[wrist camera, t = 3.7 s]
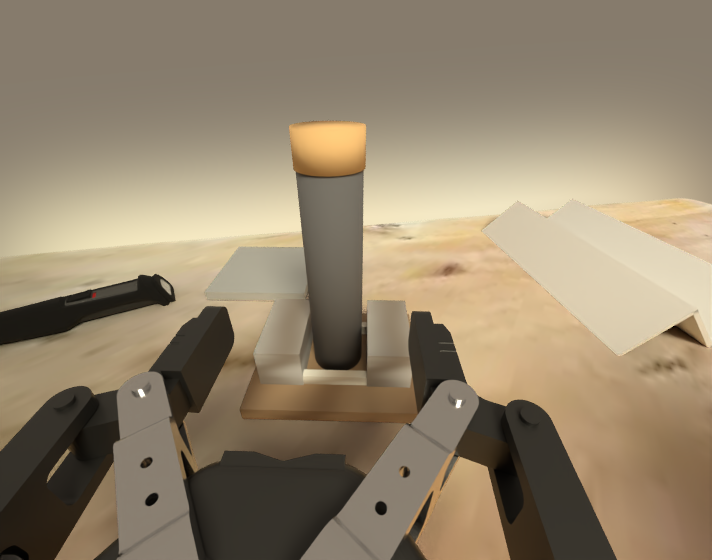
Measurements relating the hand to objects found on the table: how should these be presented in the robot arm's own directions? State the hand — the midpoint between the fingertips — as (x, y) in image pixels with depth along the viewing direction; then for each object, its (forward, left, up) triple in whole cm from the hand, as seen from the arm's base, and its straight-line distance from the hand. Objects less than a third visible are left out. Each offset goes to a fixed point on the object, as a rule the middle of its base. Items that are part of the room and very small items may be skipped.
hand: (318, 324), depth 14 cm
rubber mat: (-9, +20, -10) cm, 24 cm away
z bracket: (+27, +22, -11) cm, 36 cm away
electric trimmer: (-24, +12, -11) cm, 29 cm away
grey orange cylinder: (0, +7, -9) cm, 11 cm away
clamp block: (0, +7, -10) cm, 12 cm away
